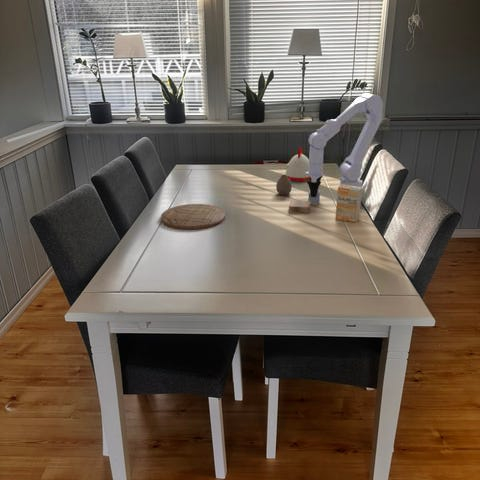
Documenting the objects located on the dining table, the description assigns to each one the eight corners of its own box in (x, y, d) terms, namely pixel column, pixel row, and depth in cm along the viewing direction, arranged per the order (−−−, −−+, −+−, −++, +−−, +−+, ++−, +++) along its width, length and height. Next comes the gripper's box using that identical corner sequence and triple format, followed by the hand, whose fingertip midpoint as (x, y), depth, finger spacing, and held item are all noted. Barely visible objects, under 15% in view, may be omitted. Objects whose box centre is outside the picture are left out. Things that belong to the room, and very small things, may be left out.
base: (310, 207, 186) (310, 200, 185) (308, 214, 179) (309, 207, 178) (290, 206, 188) (291, 199, 187) (288, 213, 181) (288, 206, 180)
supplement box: (334, 219, 172) (337, 187, 167) (338, 215, 176) (340, 183, 171) (356, 223, 169) (359, 189, 163) (359, 219, 173) (362, 186, 167)
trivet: (216, 232, 163) (216, 228, 162) (151, 228, 168) (151, 224, 167) (231, 209, 186) (231, 205, 185) (173, 206, 190) (173, 202, 190)
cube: (319, 200, 194) (320, 190, 192) (318, 203, 190) (319, 193, 188) (309, 199, 195) (309, 189, 193) (308, 203, 191) (308, 193, 189)
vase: (291, 192, 205) (292, 173, 202) (291, 196, 199) (292, 177, 195) (276, 191, 206) (276, 173, 202) (275, 196, 200) (276, 177, 196)
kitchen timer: (282, 180, 223) (283, 150, 217) (288, 172, 235) (289, 144, 229) (310, 181, 220) (312, 151, 213) (314, 174, 232) (316, 145, 226)
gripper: (307, 158, 193) (306, 188, 198) (304, 166, 180) (303, 198, 185) (324, 158, 191) (322, 189, 197) (322, 167, 178) (320, 199, 184)
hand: (314, 194), depth 191 cm, fingers open, 7 cm apart
